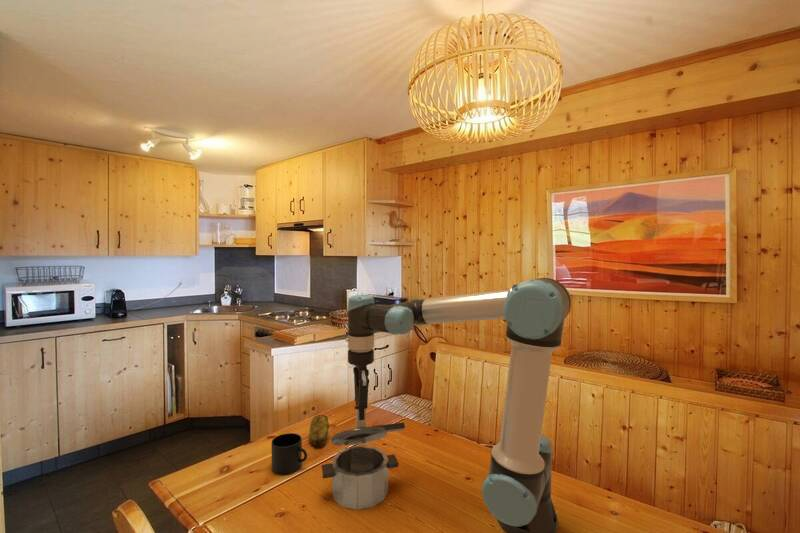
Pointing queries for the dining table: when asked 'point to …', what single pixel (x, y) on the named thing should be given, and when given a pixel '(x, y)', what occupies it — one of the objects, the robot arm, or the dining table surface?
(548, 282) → the robot arm
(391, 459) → the pot
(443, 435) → the dining table surface
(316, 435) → the potato
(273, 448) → the mug
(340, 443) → the lid
